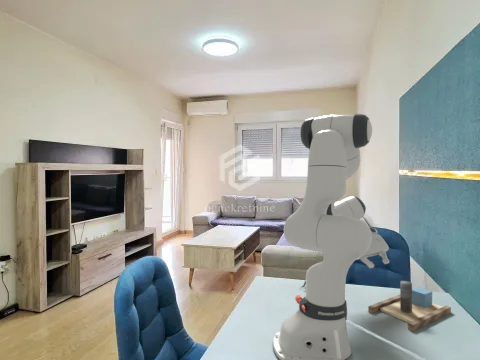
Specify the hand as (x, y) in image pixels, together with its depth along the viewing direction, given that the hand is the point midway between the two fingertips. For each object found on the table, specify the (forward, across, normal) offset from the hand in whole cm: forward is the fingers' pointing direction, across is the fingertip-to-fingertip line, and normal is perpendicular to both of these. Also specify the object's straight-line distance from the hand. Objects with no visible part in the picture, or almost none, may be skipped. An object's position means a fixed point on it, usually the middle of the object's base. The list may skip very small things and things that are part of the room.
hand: (380, 265), depth 114 cm
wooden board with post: (+18, +4, +3) cm, 18 cm away
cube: (+17, +10, +2) cm, 20 cm away
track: (+18, +2, +4) cm, 19 cm away
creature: (-8, -11, +31) cm, 34 cm away
